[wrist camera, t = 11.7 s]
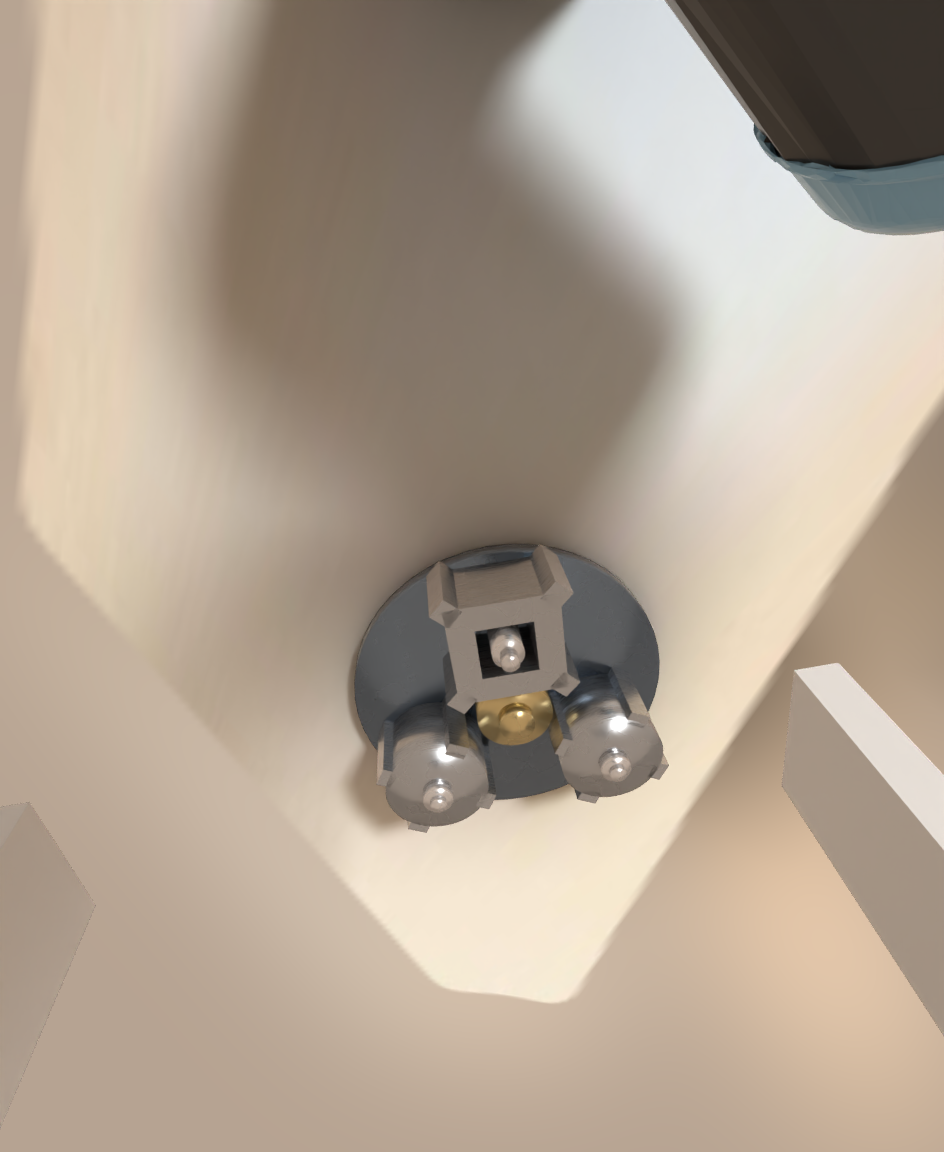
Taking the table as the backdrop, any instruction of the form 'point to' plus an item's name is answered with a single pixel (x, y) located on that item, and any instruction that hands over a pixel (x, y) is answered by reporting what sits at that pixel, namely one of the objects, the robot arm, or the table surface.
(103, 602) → the table surface
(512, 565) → the grey square frame
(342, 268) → the table surface
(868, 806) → the robot arm
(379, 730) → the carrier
